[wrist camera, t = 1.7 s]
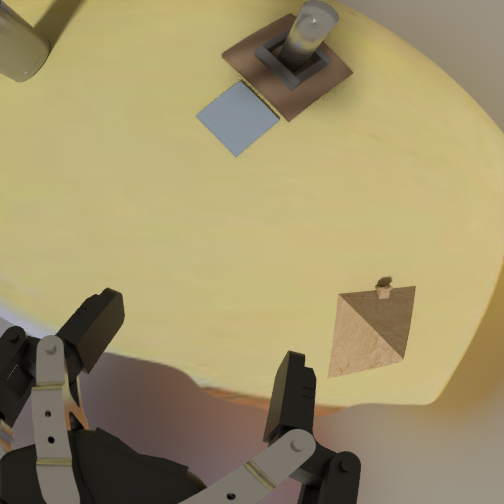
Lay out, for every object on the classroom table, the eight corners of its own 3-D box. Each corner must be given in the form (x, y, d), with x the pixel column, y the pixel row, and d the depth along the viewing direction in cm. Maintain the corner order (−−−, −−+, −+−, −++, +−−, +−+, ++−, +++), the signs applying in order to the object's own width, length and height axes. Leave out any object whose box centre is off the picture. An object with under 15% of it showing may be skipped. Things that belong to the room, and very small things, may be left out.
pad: (196, 116, 34) (195, 115, 34) (239, 82, 34) (240, 80, 33) (235, 157, 36) (236, 156, 35) (278, 121, 36) (279, 120, 35)
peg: (271, 57, 32) (294, 7, 20) (291, 45, 32) (319, -4, 20) (291, 75, 33) (322, 30, 21) (309, 63, 33) (345, 19, 21)
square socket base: (221, 57, 33) (222, 46, 29) (288, 17, 32) (293, 6, 29) (288, 122, 36) (295, 115, 33) (349, 75, 35) (359, 67, 32)
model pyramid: (416, 279, 44) (452, 296, 34) (399, 361, 47) (427, 387, 38) (335, 287, 42) (366, 311, 32) (325, 378, 45) (346, 412, 35)
